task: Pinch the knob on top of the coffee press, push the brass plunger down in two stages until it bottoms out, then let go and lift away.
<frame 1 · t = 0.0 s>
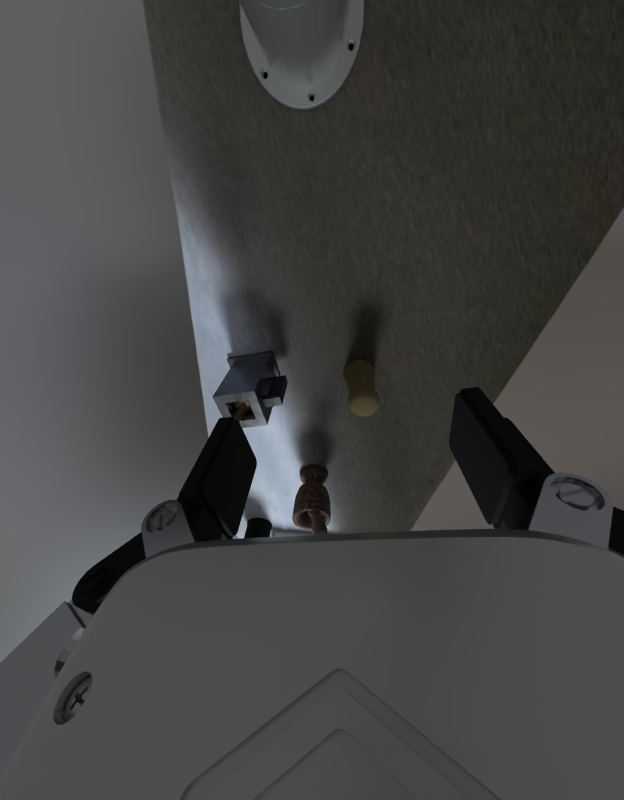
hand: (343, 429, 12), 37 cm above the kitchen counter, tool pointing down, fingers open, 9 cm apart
plunger: (231, 432, 40), point 17 cm above the kitchen counter, slide at 0.0 cm
aerosol can: (259, 524, 87), on the kitchen counter
mortar and pestle: (314, 468, 70), on the kitchen counter
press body: (257, 374, 53), on the kitchen counter
cork: (358, 372, 52), on the kitchen counter
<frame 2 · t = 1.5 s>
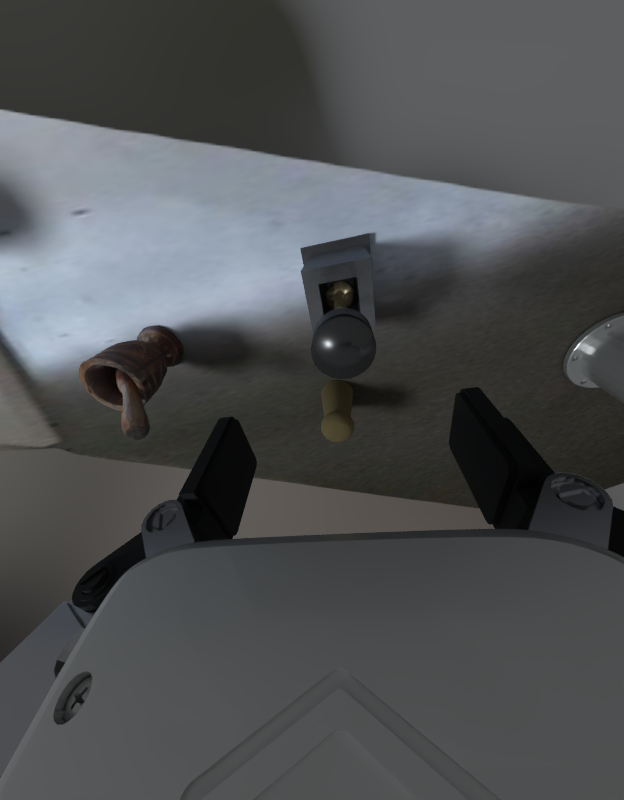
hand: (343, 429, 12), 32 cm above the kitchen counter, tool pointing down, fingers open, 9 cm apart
plunger: (341, 315, 24), point 17 cm above the kitchen counter, slide at 0.0 cm
mortar and pestle: (172, 346, 46), on the kitchen counter
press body: (338, 276, 38), on the kitchen counter
cork: (337, 393, 50), on the kitchen counter
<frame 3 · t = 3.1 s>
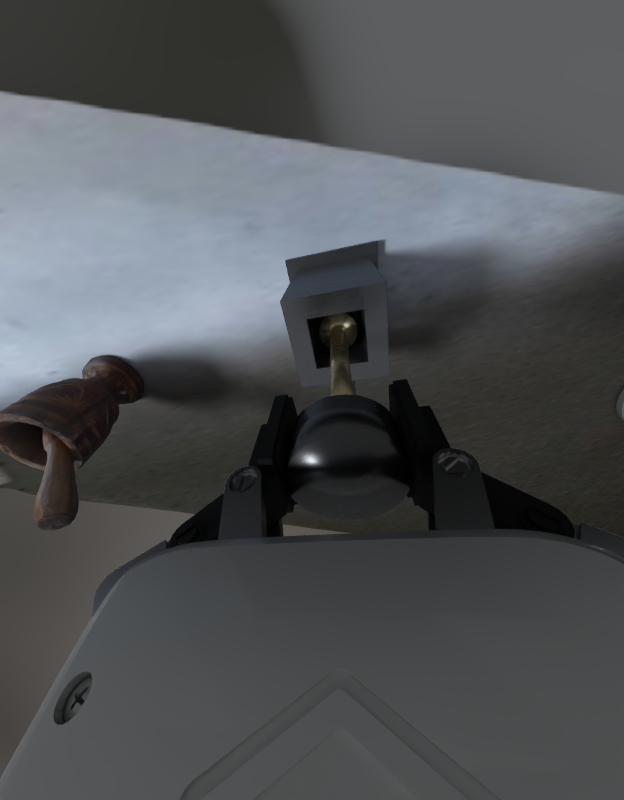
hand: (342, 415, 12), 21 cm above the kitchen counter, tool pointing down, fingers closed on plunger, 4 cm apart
plunger: (340, 376, 15), point 17 cm above the kitchen counter, slide at 0.0 cm, touching gripper
mortar and pestle: (130, 378, 37), on the kitchen counter
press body: (336, 296, 29), on the kitchen counter
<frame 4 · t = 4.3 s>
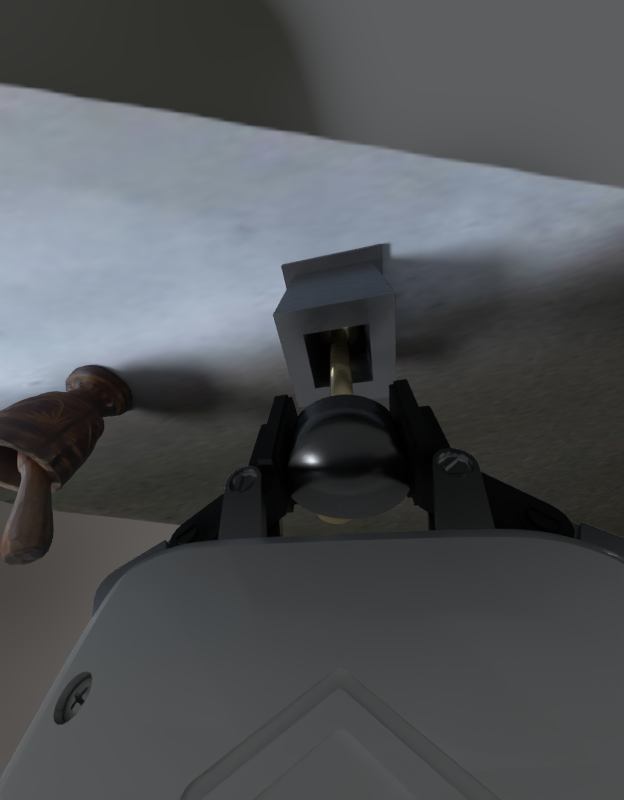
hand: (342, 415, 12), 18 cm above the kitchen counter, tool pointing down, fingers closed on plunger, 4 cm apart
plunger: (340, 376, 15), point 14 cm above the kitchen counter, slide at 2.8 cm, touching gripper
mortar and pestle: (117, 389, 35), on the kitchen counter
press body: (336, 304, 27), on the kitchen counter
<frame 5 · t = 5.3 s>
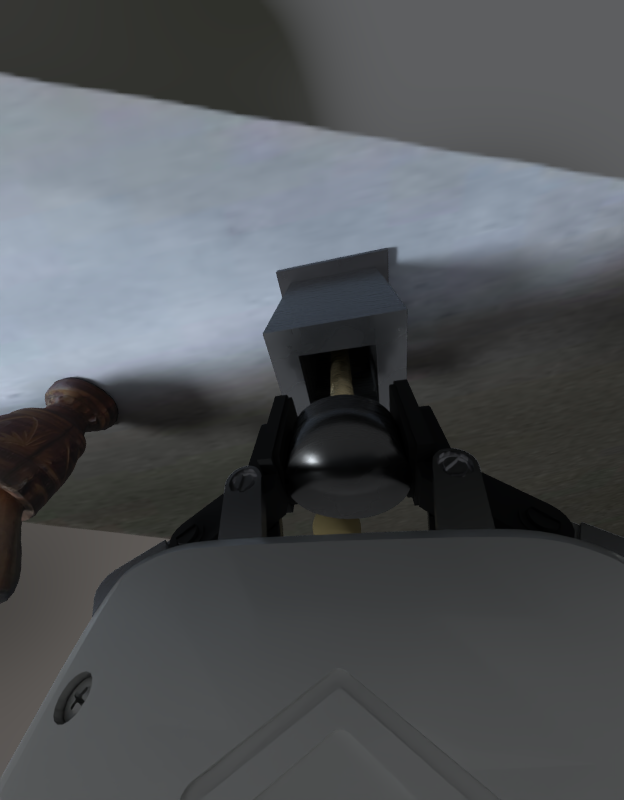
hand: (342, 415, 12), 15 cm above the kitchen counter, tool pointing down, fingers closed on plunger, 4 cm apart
plunger: (340, 376, 15), point 11 cm above the kitchen counter, slide at 5.7 cm, touching gripper
mortar and pestle: (102, 402, 33), on the kitchen counter
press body: (337, 313, 24), on the kitchen counter
cork: (335, 460, 36), on the kitchen counter
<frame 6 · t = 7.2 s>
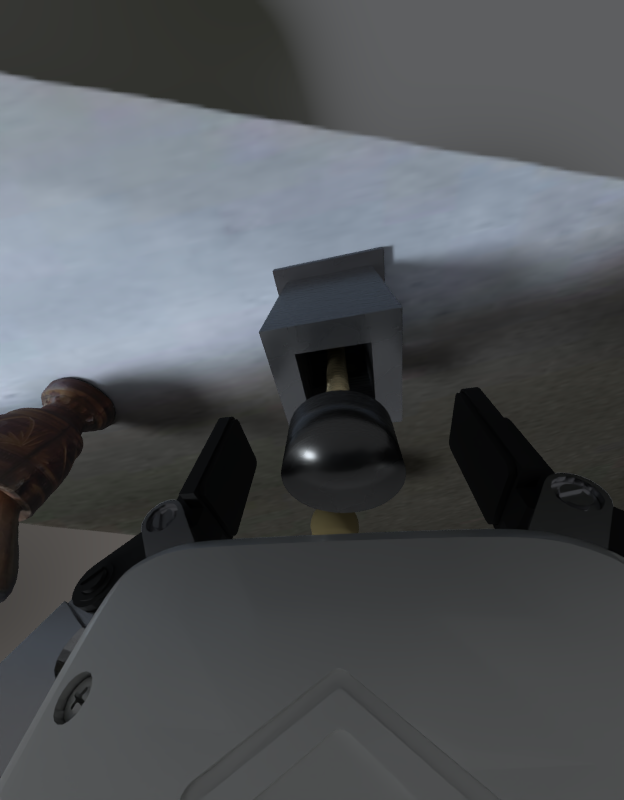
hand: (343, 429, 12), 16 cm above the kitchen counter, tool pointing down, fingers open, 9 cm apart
plunger: (337, 374, 15), point 11 cm above the kitchen counter, slide at 5.8 cm
mortar and pestle: (99, 402, 33), on the kitchen counter
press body: (334, 312, 25), on the kitchen counter
cork: (333, 459, 37), on the kitchen counter
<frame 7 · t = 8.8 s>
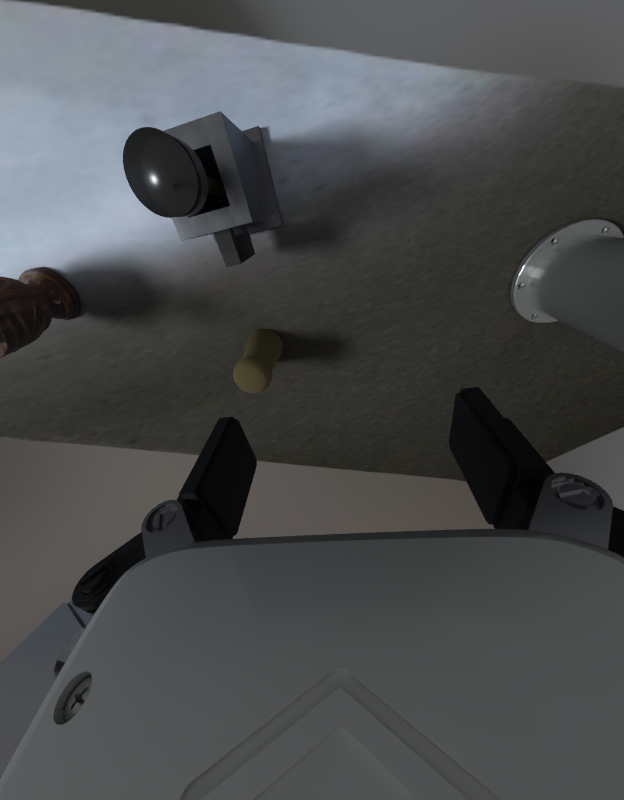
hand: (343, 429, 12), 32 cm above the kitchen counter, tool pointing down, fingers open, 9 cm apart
plunger: (202, 184, 23), point 11 cm above the kitchen counter, slide at 5.8 cm
mortar and pestle: (66, 294, 40), on the kitchen counter
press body: (236, 190, 32), on the kitchen counter
cork: (265, 345, 44), on the kitchen counter
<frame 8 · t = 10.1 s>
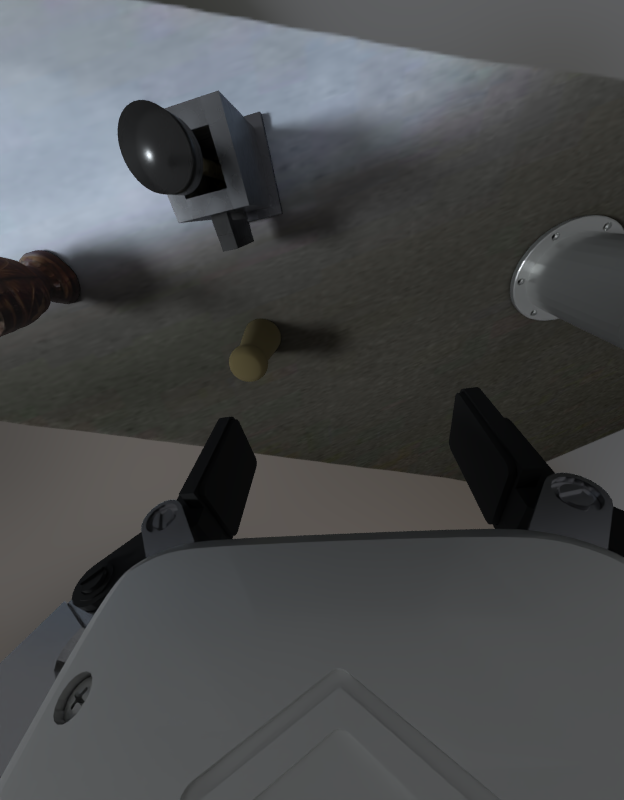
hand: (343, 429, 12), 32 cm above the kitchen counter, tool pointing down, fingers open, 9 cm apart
plunger: (199, 165, 23), point 11 cm above the kitchen counter, slide at 5.8 cm
mortar and pestle: (67, 278, 40), on the kitchen counter
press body: (237, 177, 32), on the kitchen counter
cork: (263, 336, 44), on the kitchen counter
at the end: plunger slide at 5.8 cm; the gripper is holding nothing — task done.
